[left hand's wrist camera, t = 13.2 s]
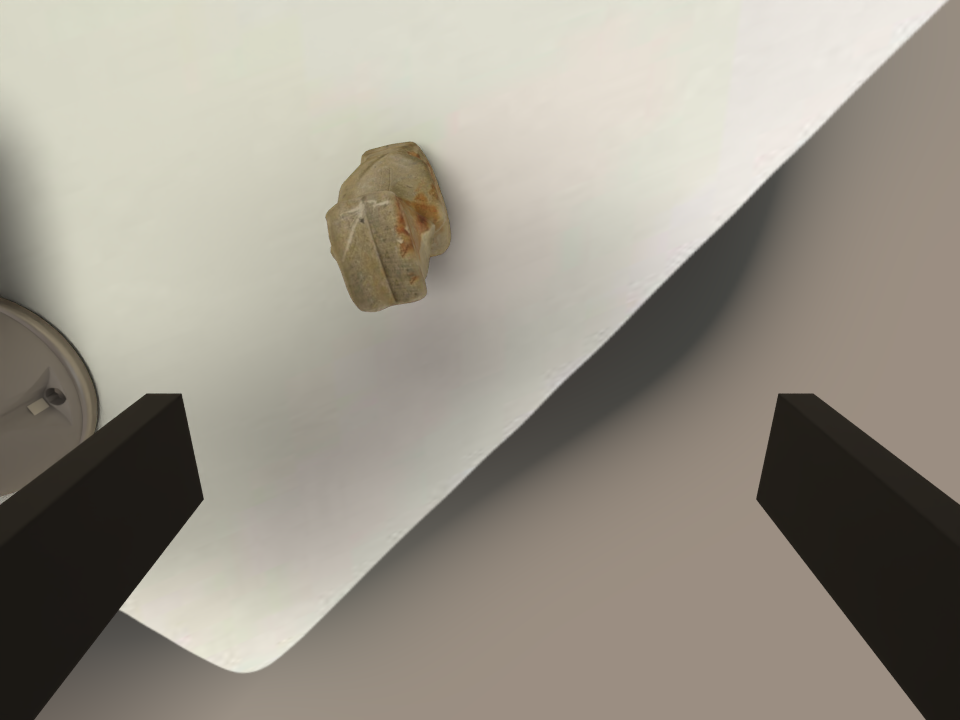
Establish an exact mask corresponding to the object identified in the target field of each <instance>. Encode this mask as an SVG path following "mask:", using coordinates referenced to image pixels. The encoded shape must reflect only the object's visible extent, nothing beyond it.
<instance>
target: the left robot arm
mask: <svg viewBox="0 0 960 720" xmlns="http://www.w3.org/2000/svg"><path fill="white" fill-rule="evenodd" d="M97 412H98V408H97V398H96V393H95V389H94V386H93V383H92V380H91V378H90V375H89V373H88V371H87V369H86V367H85V365H84V363H83V362H82V360H81V359H80V357H79V356H78V354H77V353H76V351H75V350H74V349H73V347H72V346H71V345H70V344H69V343H68V342H67V340H66V339H65V338H64V337H63V336H62V335H61V334H60V333H59V332H58V331H57V330H56V329H54V328H53V327H52V326H51V325H50V324H48V323H47V322H46V321H45V320H43V319H42V318H40V317H39V316H37V315H36V314H34V313H33V312H31V311H29V310H28V309H26V308H24V307H22V306H20V305H18V304H16V303H14V302H12V301H9V300H7V299H4V298H1V297H0V497H1V496H4V495H7V494H10V493H13V492H16V491H18V492H17V493H15V494H14V495H13V496H11V497H10V498H9V499H7V500H6V501H5V502H3V503H2V504H1V505H0V720H34V719H35V718H36V717H37V715H38V714H39V713H40V711H41V710H42V709H43V707H44V706H45V705H46V704H47V702H48V701H49V700H50V698H51V697H52V696H53V694H54V693H55V692H56V691H57V689H58V688H59V687H60V685H61V684H62V683H63V681H64V680H65V679H66V678H67V676H68V675H69V674H70V672H71V671H72V670H73V668H74V667H75V666H76V665H77V663H78V662H79V661H80V659H81V658H82V657H83V655H84V654H85V653H86V652H87V650H88V649H89V648H90V646H91V645H92V644H93V643H94V641H95V640H96V639H97V637H98V636H99V635H100V633H101V632H102V631H103V629H104V628H105V627H106V626H107V624H108V623H109V622H110V620H111V619H112V618H113V617H114V615H115V614H116V613H117V611H118V610H119V609H120V607H121V606H122V605H123V604H124V602H125V601H126V600H127V598H128V597H129V596H130V594H131V593H132V592H133V591H134V589H135V588H136V587H137V585H138V584H139V583H140V581H141V580H142V579H143V578H144V576H145V575H146V574H147V572H148V571H149V570H150V568H151V567H152V566H153V565H154V563H155V562H156V561H157V559H158V558H159V557H160V555H161V554H162V553H163V552H164V550H165V549H166V548H167V546H168V545H169V544H170V542H171V541H172V540H173V539H174V537H175V536H176V535H177V533H178V532H179V531H180V529H181V528H182V527H183V526H184V524H185V523H186V522H187V520H188V519H189V518H190V517H191V515H192V514H193V513H194V511H195V510H196V509H197V507H198V506H199V505H200V504H201V502H202V501H203V500H204V498H203V493H202V488H201V484H200V479H199V474H198V469H197V465H196V460H195V455H194V450H193V446H192V441H191V436H190V431H189V427H188V422H187V417H186V412H185V408H184V403H183V398H182V394H146V395H144V396H143V397H142V398H140V399H139V400H138V401H136V402H135V403H134V404H132V405H131V406H130V407H128V408H127V409H126V410H124V411H123V412H122V413H121V414H119V415H118V416H117V417H115V418H114V419H113V420H111V421H110V422H109V423H107V424H106V425H105V426H103V427H102V428H101V429H99V430H98V431H97V432H95V428H96V423H97ZM94 432H95V433H94ZM756 499H757V501H758V502H759V504H760V505H761V506H762V507H763V509H764V510H765V511H766V513H767V514H768V515H769V516H770V518H771V519H772V520H773V522H774V523H775V524H776V526H777V527H778V528H779V529H780V531H781V532H782V533H783V535H784V536H785V537H786V539H787V540H788V541H789V542H790V544H791V545H792V546H793V548H794V549H795V550H796V552H797V553H798V554H799V555H800V557H801V558H802V559H803V561H804V562H805V563H806V564H807V566H808V567H809V568H810V570H811V571H812V572H813V574H814V575H815V576H816V578H817V579H818V580H819V581H820V583H821V584H822V585H823V587H824V588H825V589H826V591H827V592H828V593H829V594H830V596H831V597H832V598H833V600H834V601H835V602H836V604H837V605H838V606H839V607H840V609H841V610H842V611H843V612H844V614H845V615H846V617H847V618H848V619H849V620H850V622H851V623H852V624H853V626H854V627H855V628H856V630H857V631H858V632H859V633H860V635H861V636H862V637H863V639H864V640H865V641H866V642H867V644H868V645H869V646H870V648H871V649H872V650H873V652H874V653H875V654H876V656H877V657H878V658H879V659H880V661H881V662H882V663H883V665H884V666H885V667H886V668H887V670H888V671H889V672H890V674H891V675H892V676H893V677H894V679H895V680H896V681H897V683H898V684H899V685H900V687H901V688H902V689H903V691H904V692H905V693H906V694H907V696H908V697H909V698H910V700H911V701H912V702H913V704H914V705H915V706H916V707H917V709H918V710H919V711H920V713H921V714H922V715H923V717H924V718H925V719H926V720H960V505H959V504H958V503H957V502H955V501H954V500H953V499H951V498H950V497H949V496H947V495H946V494H945V493H943V492H942V491H941V490H940V489H938V488H937V487H936V486H934V485H933V484H932V483H930V482H929V481H928V480H926V479H925V478H924V477H922V476H921V475H920V474H918V473H917V472H916V471H914V470H913V469H912V468H911V467H909V466H908V465H907V464H905V463H904V462H903V461H901V460H900V459H899V458H897V457H896V456H895V455H893V454H892V453H891V452H890V451H888V450H887V449H886V448H884V447H883V446H882V445H880V444H879V443H878V442H876V441H875V440H874V439H872V438H871V437H870V436H868V435H867V434H866V433H865V432H863V431H862V430H861V429H859V428H858V427H857V426H855V425H854V424H853V423H851V422H850V421H849V420H847V419H846V418H845V417H843V416H842V415H841V414H839V413H838V412H837V411H836V410H834V409H833V408H832V407H830V406H829V405H828V404H826V403H825V402H824V401H822V400H821V399H820V398H818V397H817V396H816V395H814V394H778V398H777V403H776V408H775V412H774V417H773V422H772V427H771V431H770V436H769V441H768V446H767V451H766V455H765V460H764V465H763V469H762V474H761V479H760V484H759V488H758V493H757V498H756Z"/></svg>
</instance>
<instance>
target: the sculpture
mask: <svg viewBox="0 0 960 720" xmlns="http://www.w3.org/2000/svg"><path fill="white" fill-rule="evenodd" d="M325 218H326V220H327V225H328V233H329V239H330V242H331V254H332V256H333V257H334V259H335V260H336V261H337V263H338V265H339V268H340V270H341V273H342V276H343V278H344V281H345V284H346V287H347V290H348V292H349V294H350V297H351V299H352V300H353V302H354V303H355V305H356V306H357V307H358V308H359V309H360V310H361V311H365V312H377V311H381V310H383V309H385V308H387V307H389V306H393V305H398V304H405V303H411V302H415V301H418V300H421V299H422V298H424V297H425V296H426V293H427V290H426V284H425V278H426V276H427V273H428V267H429V259H430V257H433V256H437V255H441V254H443V253H444V252H445V251H446V250H447V248H448V247H449V245H450V240H451V232H450V224H449V219H448V214H447V210H446V206H445V203H444V200H443V197H442V194H441V191H440V188H439V185H438V182H437V180H436V177H435V174H434V172H433V169H432V167H431V165H430V163H429V161H428V160H427V158H426V156H425V155H424V153H423V152H422V150H421V149H420V147H419V146H418V145H417V144H416V143H414V142H404V143H397V144H391V145H387V146H383V147H379V148H375V149H371V150H368V151H366V152H365V153H364V154H363V155H362V158H361V165H360V166H359V167H358V168H357V169H356V170H355V171H354V172H353V173H352V174H351V175H350V176H349V177H348V179H347V180H346V181H345V182H344V183H343V184H342V186H341V189H340V192H339V198H338V203H337V204H336V205H334V206H333V207H332V208H331V209H330V210H329V211H328V212H327V214H326V217H325Z"/></svg>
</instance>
